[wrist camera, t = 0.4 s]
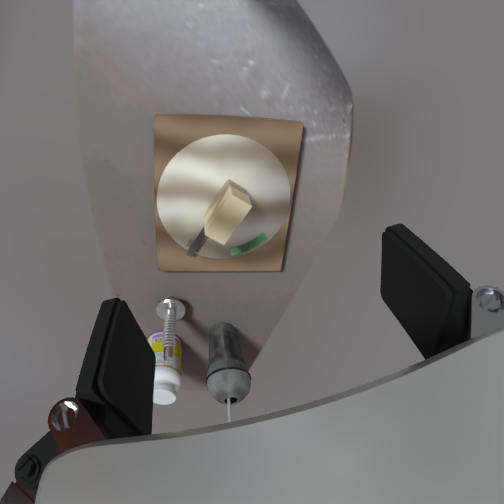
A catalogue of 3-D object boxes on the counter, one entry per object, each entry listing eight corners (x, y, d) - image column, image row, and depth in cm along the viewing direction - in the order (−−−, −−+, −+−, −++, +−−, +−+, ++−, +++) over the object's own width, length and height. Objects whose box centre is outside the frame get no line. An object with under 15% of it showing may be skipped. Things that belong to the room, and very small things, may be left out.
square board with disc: (156, 114, 36) (154, 115, 35) (300, 121, 40) (303, 123, 38) (159, 265, 48) (158, 271, 47) (278, 265, 51) (280, 271, 50)
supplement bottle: (167, 357, 59) (165, 411, 48) (140, 342, 56) (134, 397, 45) (189, 341, 58) (190, 397, 47) (161, 324, 55) (157, 381, 44)
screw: (183, 290, 51) (186, 312, 54) (155, 291, 51) (159, 313, 53) (182, 349, 40) (186, 371, 43) (147, 350, 40) (154, 372, 42)
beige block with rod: (228, 178, 41) (232, 194, 36) (245, 189, 42) (252, 206, 37) (180, 249, 45) (178, 273, 40) (197, 257, 46) (197, 282, 41)
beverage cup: (249, 325, 57) (269, 418, 41) (228, 348, 60) (241, 438, 43) (215, 311, 55) (226, 409, 38) (195, 336, 57) (200, 431, 40)
